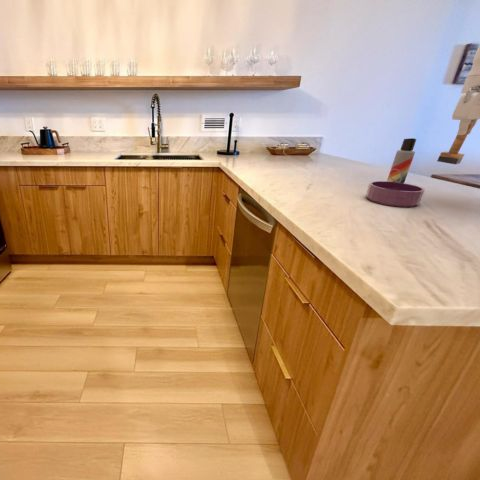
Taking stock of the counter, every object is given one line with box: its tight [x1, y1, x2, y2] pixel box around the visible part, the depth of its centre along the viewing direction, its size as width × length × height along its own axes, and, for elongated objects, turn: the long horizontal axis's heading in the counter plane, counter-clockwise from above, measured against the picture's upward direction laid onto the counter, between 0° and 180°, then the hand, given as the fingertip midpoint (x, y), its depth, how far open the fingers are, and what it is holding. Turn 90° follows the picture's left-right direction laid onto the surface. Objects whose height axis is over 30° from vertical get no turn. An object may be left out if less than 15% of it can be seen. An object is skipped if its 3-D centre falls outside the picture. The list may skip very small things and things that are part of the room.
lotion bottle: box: [386, 137, 417, 183], centre depth 115 cm, size 6×6×20 cm
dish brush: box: [436, 121, 474, 165], centre depth 94 cm, size 5×4×13 cm
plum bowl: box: [365, 180, 425, 208], centre depth 102 cm, size 15×15×6 cm
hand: (463, 134), depth 93 cm, fingers closed on dish brush, 2 cm apart
